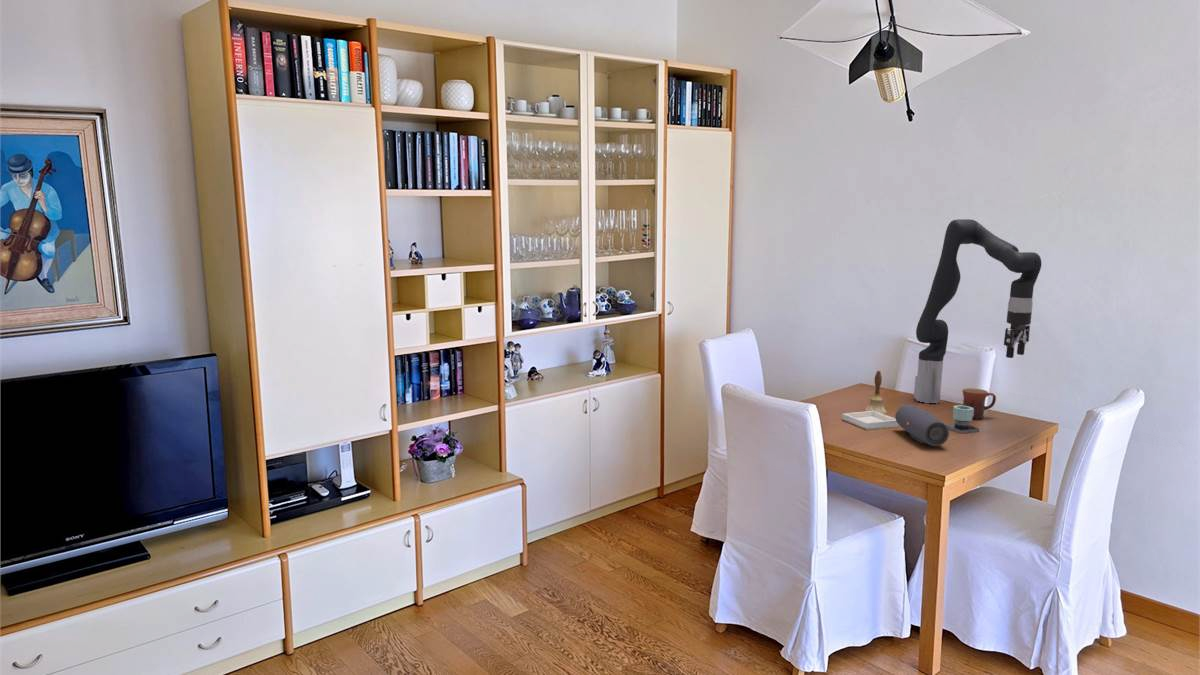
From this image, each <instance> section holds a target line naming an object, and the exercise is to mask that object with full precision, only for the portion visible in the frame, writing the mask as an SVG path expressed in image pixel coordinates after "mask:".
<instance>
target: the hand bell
mask: <svg viewBox="0 0 1200 675" xmlns="http://www.w3.org/2000/svg"><path fill="white" fill-rule="evenodd" d="M882 378H883V377H882V373H881V371H880V370H877V371H876V374H875V376H874V386H875V390H874V396H872V397H870V400H869V403H868V405H867V407H866V408H865V409H864V412H865V411H876V412H879V413H881V414H884V415H887V414H888V410H886V408H885V404H884V399H883V398H882V397H881V395H880V394H881V393H880V392H881V391H880V390H881V385H882V380H883V379H882Z"/></svg>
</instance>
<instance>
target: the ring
mask: <svg viewBox="0 0 1200 675" xmlns="http://www.w3.org/2000/svg"><path fill="white" fill-rule="evenodd" d="M960 408H966V409H960ZM973 416H974V409H973V408H972V407H969V406H963V404H961V405H960V404H959V405H953V412H952V419H953V420H955V419H956V420H960V421H970V422H971V421H973V419H972V418H973Z"/></svg>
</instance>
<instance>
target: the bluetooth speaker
mask: <svg viewBox="0 0 1200 675" xmlns="http://www.w3.org/2000/svg"><path fill="white" fill-rule="evenodd" d="M894 418H895V419H896V421H897V423H898V424H899V427H901V428H902V429H903V430H904V431H906V433H908V434H909V436H910V437H911V438H912V439H914V440H916V441H917V442H918V443H921V444H923V445H929V446H933V447H938V446H939V447H940V446H942V445H943V444H945V443H947V441H948V438H949V437H950V429H948V428H947V426H946V425H947V424H946V423H944V422H943V420H940V419H938V417H936V416H934V415H933V414H931V413H929V412H928V411H926V410H923V409H922V408H919V407H918V406H915V405H913V404H902V405H901V406H899V408H898V409H897V410H896V413H895V416H894Z"/></svg>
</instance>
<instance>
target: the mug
mask: <svg viewBox="0 0 1200 675" xmlns="http://www.w3.org/2000/svg"><path fill="white" fill-rule="evenodd" d="M962 395H963V400H962V405H963V406H969V407H972V408H973V409H974V416H973V419H972V420H980V419H979V418H981V419H982V418H984V416H985V410H989V409H991V408H993V407H994V405H995V404H996V402H997V401H996V400H997V397H996V394H995V393H992V392H988V390H985V389H981V388H973V387H965V388H962ZM989 396H992V400H991V403H990V404H989V405H986V406H985V402H986V398H987V397H989Z"/></svg>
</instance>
